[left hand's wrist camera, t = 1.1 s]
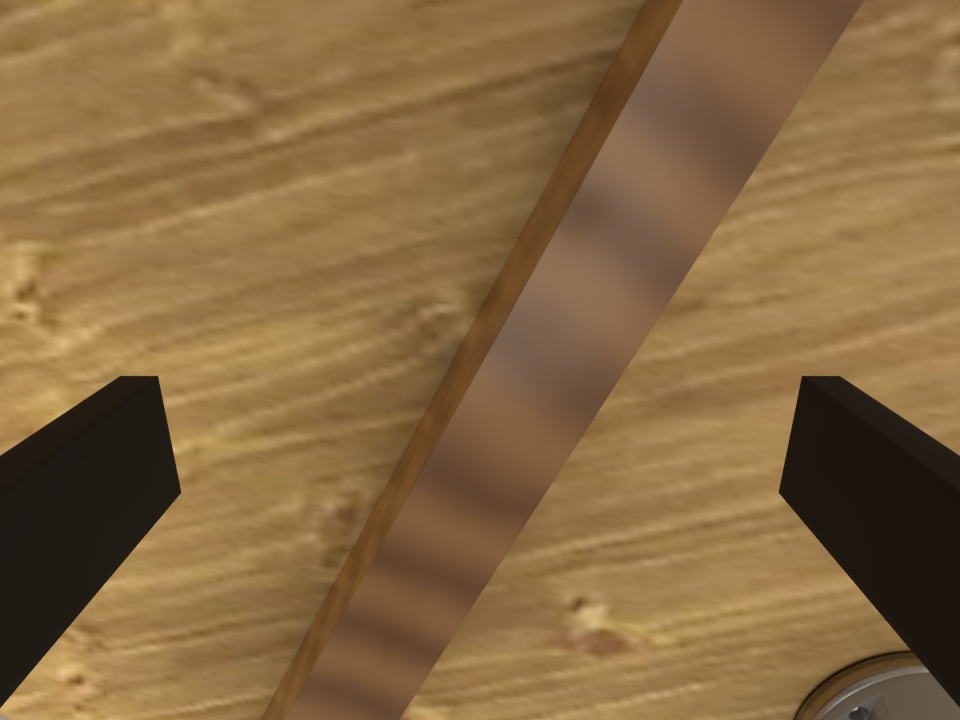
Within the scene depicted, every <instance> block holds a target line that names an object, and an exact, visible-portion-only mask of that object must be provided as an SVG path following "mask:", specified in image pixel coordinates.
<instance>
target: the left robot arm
mask: <svg viewBox="0 0 960 720" xmlns="http://www.w3.org/2000/svg"><path fill="white" fill-rule="evenodd" d="M180 494H181V489H180V484H179V479H178V474H177V469H176V464H175V459H174V454H173V449H172V444H171V439H170V434H169V429H168V424H167V419H166V414H165V409H164V404H163V399H162V394H161V389H160V384H159V379H158V376H120V377H118V378H117V379H115V380H114V381H112V382H111V383H109V384H108V385H106V386H105V387H103V388H102V389H100V390H99V391H97V392H96V393H94V394H93V395H91V396H90V397H88V398H87V399H85V400H84V401H82V402H81V403H79V404H78V405H76V406H75V407H73V408H72V409H70V410H69V411H67V412H66V413H64V414H63V415H61V416H60V417H58V418H56V419H55V420H53V421H52V422H50V423H49V424H47V425H46V426H44V427H43V428H41V429H40V430H38V431H37V432H35V433H34V434H32V435H31V436H29V437H28V438H26V439H25V440H23V441H22V442H20V443H19V444H17V445H16V446H14V447H13V448H11V449H10V450H8V451H7V452H5V453H4V454H2V455H1V456H0V708H1V707H2V705H3V704H4V703H5V702H6V701H7V699H8V698H9V697H10V696H11V695H12V693H13V692H14V691H15V690H16V689H17V688H18V686H19V685H20V684H21V683H22V682H23V680H24V679H25V678H26V677H27V676H28V674H29V673H30V672H31V671H32V670H33V668H34V667H35V666H36V665H37V664H38V663H39V661H40V660H41V659H42V658H43V657H44V655H45V654H46V653H47V652H48V651H49V649H50V648H51V647H52V646H53V645H54V643H55V642H56V641H57V640H58V639H59V638H60V636H61V635H62V634H63V633H64V632H65V630H66V629H67V628H68V627H69V626H70V624H71V623H72V622H73V621H74V620H75V618H76V617H77V616H78V615H79V614H80V613H81V611H82V610H83V609H84V608H85V607H86V605H87V604H88V603H89V602H90V601H91V599H92V598H93V597H94V596H95V595H96V593H97V592H98V591H99V590H100V589H101V588H102V586H103V585H104V584H105V583H106V582H107V580H108V579H109V578H110V577H111V576H112V574H113V573H114V572H115V571H116V570H117V569H118V567H119V566H120V565H121V564H122V563H123V561H124V560H125V559H126V558H127V557H128V555H129V554H130V553H131V552H132V551H133V549H134V548H135V547H136V546H137V545H138V544H139V542H140V541H141V540H142V539H143V538H144V536H145V535H146V534H147V533H148V532H149V530H150V529H151V528H152V527H153V526H154V524H155V523H156V522H157V521H158V520H159V519H160V517H161V516H162V515H163V514H164V513H165V511H166V510H167V509H168V508H169V507H170V505H171V504H172V503H173V502H174V501H175V499H176V498H177V497H178V496H179V495H180ZM779 494H780V495H781V496H782V497H783V498H784V499H785V501H786V502H787V503H788V504H789V505H790V507H791V508H792V509H793V510H794V511H795V513H796V514H797V515H798V516H799V517H800V519H801V520H802V521H803V522H804V523H805V524H806V526H807V527H808V528H809V529H810V530H811V532H812V533H813V534H814V535H815V536H816V538H817V539H818V540H819V541H820V542H821V544H822V545H823V546H824V547H825V548H826V549H827V551H828V552H829V553H830V554H831V555H832V557H833V558H834V559H835V560H836V561H837V563H838V564H839V565H840V566H841V567H842V569H843V570H844V571H845V572H846V573H847V574H848V576H849V577H850V578H851V579H852V580H853V582H854V583H855V584H856V585H857V586H858V588H859V589H860V590H861V591H862V592H863V593H864V595H865V596H866V597H867V598H868V599H869V601H870V602H871V603H872V604H873V605H874V607H875V608H876V609H877V610H878V611H879V613H880V614H881V615H882V616H883V617H884V618H885V620H886V621H887V622H888V623H889V624H890V626H891V627H892V628H893V629H894V630H895V632H896V633H897V634H898V635H899V636H900V638H901V639H902V640H903V641H904V642H905V643H906V645H907V646H908V647H909V648H910V649H911V651H912V652H913V653H914V654H915V655H916V657H917V658H918V659H919V660H920V661H921V663H922V664H923V665H924V666H925V667H926V668H927V670H928V671H929V672H930V673H931V674H932V676H933V677H934V678H935V679H936V680H937V682H938V683H939V684H940V685H941V686H942V688H943V689H944V690H945V691H946V692H947V693H948V695H949V696H950V697H951V698H952V699H953V701H954V702H955V703H956V704H957V705H958V707H959V708H960V456H959V455H958V454H956V453H955V452H953V451H952V450H950V449H949V448H947V447H946V446H944V445H943V444H941V443H940V442H938V441H937V440H935V439H934V438H932V437H931V436H929V435H928V434H926V433H925V432H923V431H922V430H920V429H919V428H917V427H916V426H914V425H913V424H911V423H910V422H908V421H907V420H905V419H904V418H902V417H900V416H899V415H897V414H896V413H894V412H893V411H891V410H890V409H888V408H887V407H885V406H884V405H882V404H881V403H879V402H878V401H876V400H875V399H873V398H872V397H870V396H869V395H867V394H866V393H864V392H863V391H861V390H860V389H858V388H857V387H855V386H854V385H852V384H851V383H849V382H848V381H846V380H845V379H843V378H842V377H840V376H802V379H801V384H800V389H799V394H798V399H797V404H796V409H795V414H794V419H793V424H792V429H791V434H790V439H789V444H788V449H787V454H786V459H785V464H784V469H783V474H782V479H781V484H780V489H779Z"/></svg>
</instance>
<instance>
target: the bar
mask: <svg viewBox="0 0 960 720" xmlns="http://www.w3.org/2000/svg"><path fill="white" fill-rule="evenodd" d="M863 1H864V0H646V2H645V4H644V5H643V7H642V9H641V11H640V13H639V15H638V17H637V18H636V20H635V22H634V24H633V26H632V28H631V30H630V32H629V33H628V35H627V37H626V39H625V41H624V43H623V45H622V46H621V48H620V50H619V52H618V54H617V56H616V58H615V60H614V61H613V63H612V65H611V67H610V69H609V71H608V73H607V75H606V76H605V78H604V80H603V82H602V84H601V86H600V88H599V89H598V91H597V93H596V95H595V97H594V99H593V101H592V103H591V104H590V106H589V108H588V110H587V112H586V114H585V116H584V117H583V119H582V121H581V123H580V125H579V127H578V129H577V131H576V132H575V134H574V136H573V138H572V140H571V142H570V144H569V145H568V147H567V149H566V151H565V153H564V155H563V157H562V159H561V160H560V162H559V164H558V166H557V168H556V170H555V172H554V174H553V175H552V177H551V179H550V181H549V183H548V185H547V187H546V188H545V190H544V192H543V194H542V196H541V198H540V200H539V202H538V203H537V205H536V207H535V209H534V211H533V213H532V215H531V216H530V218H529V220H528V222H527V224H526V226H525V228H524V230H523V231H522V233H521V235H520V237H519V239H518V241H517V243H516V245H515V246H514V248H513V250H512V252H511V254H510V256H509V258H508V259H507V261H506V263H505V265H504V267H503V269H502V271H501V273H500V274H499V276H498V278H497V280H496V282H495V284H494V286H493V287H492V289H491V291H490V293H489V295H488V297H487V299H486V301H485V302H484V304H483V306H482V308H481V310H480V312H479V314H478V316H477V317H476V319H475V321H474V323H473V325H472V327H471V329H470V330H469V332H468V334H467V336H466V338H465V340H464V342H463V344H462V345H461V347H460V349H459V351H458V353H457V355H456V357H455V358H454V360H453V362H452V364H451V366H450V368H449V370H448V372H447V373H446V375H445V377H444V379H443V381H442V383H441V385H440V386H439V388H438V390H437V392H436V394H435V396H434V398H433V400H432V401H431V403H430V405H429V407H428V409H427V411H426V413H425V415H424V416H423V418H422V420H421V422H420V424H419V426H418V428H417V429H416V431H415V433H414V435H413V437H412V439H411V441H410V443H409V444H408V446H407V448H406V450H405V452H404V454H403V456H402V457H401V459H400V461H399V463H398V465H397V467H396V469H395V471H394V472H393V474H392V476H391V478H390V480H389V482H388V484H387V486H386V487H385V489H384V491H383V493H382V495H381V497H380V499H379V500H378V502H377V504H376V506H375V508H374V510H373V512H372V514H371V515H370V517H369V519H368V521H367V523H366V525H365V527H364V528H363V530H362V532H361V534H360V536H359V538H358V540H357V542H356V543H355V545H354V547H353V549H352V551H351V553H350V555H349V556H348V558H347V560H346V562H345V564H344V566H343V568H342V570H341V571H340V573H339V575H338V577H337V579H336V581H335V583H334V585H333V586H332V588H331V590H330V592H329V594H328V596H327V598H326V599H325V601H324V603H323V605H322V607H321V609H320V611H319V613H318V614H317V616H316V618H315V620H314V622H313V624H312V626H311V627H310V629H309V631H308V633H307V635H306V637H305V639H304V641H303V642H302V644H301V646H300V648H299V650H298V652H297V654H296V656H295V657H294V659H293V661H292V663H291V665H290V667H289V669H288V670H287V672H286V674H285V676H284V678H283V680H282V682H281V684H280V685H279V687H278V689H277V691H276V693H275V695H274V697H273V698H272V700H271V702H270V704H269V706H268V708H267V710H266V712H265V713H264V715H263V717H262V719H261V720H399V719H400V717H401V716H402V714H403V713H404V711H405V710H406V708H407V707H408V705H409V703H410V702H411V700H412V699H413V697H414V696H415V694H416V693H417V691H418V690H419V688H420V686H421V685H422V683H423V682H424V680H425V679H426V677H427V676H428V674H429V672H430V671H431V669H432V668H433V666H434V665H435V663H436V662H437V660H438V659H439V657H440V655H441V654H442V652H443V651H444V649H445V648H446V646H447V645H448V643H449V642H450V640H451V638H452V637H453V635H454V634H455V632H456V631H457V629H458V628H459V626H460V625H461V623H462V621H463V620H464V618H465V617H466V615H467V614H468V612H469V611H470V609H471V607H472V606H473V604H474V603H475V601H476V600H477V598H478V597H479V595H480V594H481V592H482V590H483V589H484V587H485V586H486V584H487V583H488V581H489V580H490V578H491V577H492V575H493V573H494V572H495V570H496V569H497V567H498V566H499V564H500V563H501V561H502V560H503V558H504V556H505V555H506V553H507V552H508V550H509V549H510V547H511V546H512V544H513V542H514V541H515V539H516V538H517V536H518V535H519V533H520V532H521V530H522V529H523V527H524V525H525V524H526V522H527V521H528V519H529V518H530V516H531V515H532V513H533V512H534V510H535V508H536V507H537V505H538V504H539V502H540V501H541V499H542V498H543V496H544V495H545V493H546V491H547V490H548V488H549V487H550V485H551V484H552V482H553V481H554V479H555V477H556V476H557V474H558V473H559V471H560V470H561V468H562V467H563V465H564V464H565V462H566V460H567V459H568V457H569V456H570V454H571V453H572V451H573V450H574V448H575V447H576V445H577V443H578V442H579V440H580V439H581V437H582V436H583V434H584V433H585V431H586V430H587V428H588V426H589V425H590V423H591V422H592V420H593V419H594V417H595V416H596V414H597V412H598V411H599V409H600V408H601V406H602V405H603V403H604V402H605V400H606V399H607V397H608V395H609V394H610V392H611V391H612V389H613V388H614V386H615V385H616V383H617V382H618V380H619V378H620V377H621V375H622V374H623V372H624V371H625V369H626V368H627V366H628V365H629V363H630V361H631V360H632V358H633V357H634V355H635V354H636V352H637V351H638V349H639V347H640V346H641V344H642V343H643V341H644V340H645V338H646V337H647V335H648V334H649V332H650V330H651V329H652V327H653V326H654V324H655V323H656V321H657V320H658V318H659V317H660V315H661V313H662V312H663V310H664V309H665V307H666V306H667V304H668V303H669V301H670V300H671V298H672V296H673V295H674V293H675V292H676V290H677V289H678V287H679V286H680V284H681V282H682V281H683V279H684V278H685V276H686V275H687V273H688V272H689V270H690V269H691V267H692V265H693V264H694V262H695V261H696V259H697V258H698V256H699V255H700V253H701V252H702V250H703V248H704V247H705V245H706V244H707V242H708V241H709V239H710V238H711V236H712V235H713V233H714V231H715V230H716V228H717V227H718V225H719V224H720V222H721V221H722V219H723V217H724V216H725V214H726V213H727V211H728V210H729V208H730V207H731V205H732V204H733V202H734V200H735V199H736V197H737V196H738V194H739V193H740V191H741V190H742V188H743V187H744V185H745V183H746V182H747V180H748V179H749V177H750V176H751V174H752V173H753V171H754V169H755V168H756V166H757V165H758V163H759V162H760V160H761V159H762V157H763V156H764V154H765V152H766V151H767V149H768V148H769V146H770V145H771V143H772V142H773V140H774V139H775V137H776V135H777V134H778V132H779V131H780V129H781V128H782V126H783V125H784V123H785V122H786V120H787V118H788V117H789V115H790V114H791V112H792V111H793V109H794V108H795V106H796V104H797V103H798V101H799V100H800V98H801V97H802V95H803V94H804V92H805V91H806V89H807V87H808V86H809V84H810V83H811V81H812V80H813V78H814V77H815V75H816V74H817V72H818V70H819V69H820V67H821V66H822V64H823V63H824V61H825V60H826V58H827V57H828V55H829V53H830V52H831V50H832V49H833V47H834V46H835V44H836V43H837V41H838V39H839V38H840V36H841V35H842V33H843V32H844V30H845V29H846V27H847V26H848V24H849V22H850V21H851V19H852V18H853V16H854V15H855V13H856V12H857V10H858V9H859V7H860V5H861V4H862V2H863Z"/></svg>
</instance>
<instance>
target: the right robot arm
mask: <svg viewBox="0 0 960 720" xmlns="http://www.w3.org/2000/svg"><path fill="white" fill-rule="evenodd" d="M795 720H960V708H959V707H958V705H957V704H956V703H955V702H954V701H953V699H952V698H951V697H950V696H949V695H948V693H947V692H946V691H945V690H944V689H943V688H942V686H941V685H940V684H939V683H938V682H937V680H936V679H935V678H934V677H933V676H932V674H931V673H930V672H929V671H928V670H927V668H926V667H925V666H924V665H923V664H922V663H921V661H920V660H919V659H918V658H917V657H916V655H915V654H914V653H898V654H892V655H886V656H882V657H877V658H874V659H871V660H867V661H865V662H862V663H859V664H857V665H855V666H852V667H850V668H848V669H846V670H844V671H842V672H841V673H839V674H837V675H836V676H834V677H832V678H831V679H830V680H828V681H827V682H825V683H824V684H823V685H822V686H821V687H819V688H818V689H817V690H816V691H815V692H814V693H813V694H812V695H811V696H810V697H809V698H808V700H807V701H806V702H805V703H804V705H803V706H802V708H801V709H800V711H799V713H798V715H797V717H796V719H795Z"/></svg>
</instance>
